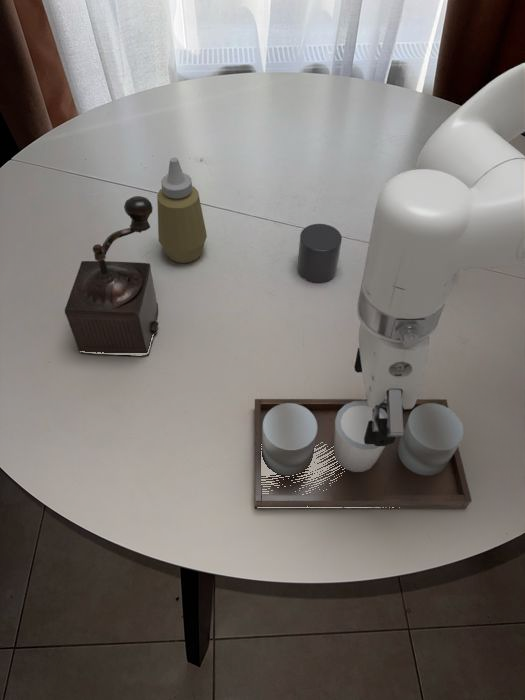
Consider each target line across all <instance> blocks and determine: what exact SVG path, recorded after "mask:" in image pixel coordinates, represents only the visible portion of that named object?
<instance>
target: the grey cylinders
mask: <svg viewBox="0 0 525 700" xmlns="http://www.w3.org/2000/svg"><path fill="white" fill-rule="evenodd" d="M342 241H343V239H342V234H341V232H340V231H339V230H338V229H337V228H336V227H334V226H332V225H329V224H325V223H312V224H310V225H307V226H306V227H304V228H302V230H301V232H300V234H299V243H298V244H299V245H298V257H297V266H296V267H297V272H298V275H299V277H301V278H302V279H304V280H306V281H307V282H309V283H313V284H324V283H327V282H329V281H331V280H333V279H334V277H336V275H337V271H338V265H339V258H340V254H341V253H340V252H341V247H342Z"/></svg>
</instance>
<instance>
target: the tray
mask: <svg viewBox="0 0 525 700" xmlns="http://www.w3.org/2000/svg"><path fill="white" fill-rule="evenodd" d="M385 400H387V398H385ZM353 401H367V399H366V398H254V508H255V507H307V506H308V507H381V508H382V507H384V508H385V507H387V508H389V507H390V508H392V507H394V508H399V507H400V508H415V509H467V508H468V507H469V505H470V504H471V503H472V496H471V493H470V489H469V485H468V481H467V480H468V479H467V477H466V472H465V469H464V464H463V460H462V457H461V453H460V449H459V446H460V444H461V442H462V441H463V438H464V433H465V431H464V425H463V422H462V420H461V419H460V417H459V415H457V413H455V411H453V410H452V409H451V408H449V404H448V400H447V399H435V398H434V399H433V398H431V399H429V398H428V399H426V398H425V399H424V398H422V399H418V398H417V401H416V403H415V405H414V407H413V408H412V409H404V408H403V406H402V413H403V436H400V437H396V438H395V441H394V443H392V444H388V445H387V446H385V447H384V449H383V451H382V453H381V454H380V456H379V458H378V459H377V461H376V463H375V464H374V465H373V466H372V467H371V468H370V469H368V470H366V471H363V472H353V471H350V470H347V469H344V467H342V466H340V467H338V468H337V469H339V468H340V469H339V470H337V469H335V470H337V471H335V470H333V471H335V472H334V473H335V474H334V473H332V474H334V475H332V474H329V473H331V472H333V471H329V470H331V469H333V468H335V467H337V466H339V465H340V464H339V463H338V462H337V463H338V464H337V463H335V464H334V465H335V466H334V465H332V466H334V467H332V466H330V467H332V468H330V467H329V468H330V469H329V470H327V471H329V472H327V471H325V472H327V473H325V472H323V473H325V474H323V475H321V476H323V477H321V476H319V477H321V478H319V477H316V478H318V479H317V480H320V479H323V478H325V477H328V476H330V475H332V476H330V477H328V478H326V479H324V480H326V481H324V480H322V481H324V482H322V481H319V482H322V483H320V484H322V485H320V484H317V485H319V486H317V485H313V484H316V483H319V482H316V483H311V482H315V481H317V480H314V481H311V482H308V483H311V484H308V483H303V482H307V481H310V480H305V479H308V478H311V477H307V478H304V479H300V480H295V479H299V478H303V477H306V476H303V477H297V476H301V475H304V474H308V473H302V472H305V471H309V470H305V469H307V468H309V467H308V466H309V465H310V463H311V461H312V458H313V454H314V453H316V452H318V451H320V450H322V449H324V448H325V447H326V450H328V449H330V448H331V447H333V446H334V435H335V419H336V417H337V414H338V411H339V410H340V409H341V408H342V407H343V406H344V405H346V404H348V403H351V402H353ZM382 409H383V410H385V412H386V413H387V408H382ZM321 442H323V443H321ZM320 443H321V444H320ZM261 444H262V445H261ZM318 444H319V445H318ZM324 444H327V445H325V446H324V447H322V448H321V449H319V450H317V451H315V452H314V448H316V449H317V448H319V447H321V446H323V445H324ZM316 445H318V446H316ZM261 446H262V447H261ZM315 446H316V447H315ZM327 446H328V447H327ZM261 448H262V450H261ZM326 450H325V451H326ZM332 450H334V447H333V448H331V449H330V450H328V451H327V452H325V453H324V454H322V455H320V456H318V457H317V458H319V457H321V456H323V455H325V454H327V453H329V452H330V451H332ZM261 451H262V457H263V460H264V462H265V464H266V465H267V467H268V468H269V469H271V470H272V471H273V472H275V473H277V474H276V475H281V476H279V477H284V478H279V477H268V478H261V477H266V476H261ZM323 452H324V451H323ZM323 452H321V453H323ZM321 453H320V454H321ZM333 453H334V451H333V452H332V453H331V454H333ZM331 454H329V455H331ZM318 455H319V454H318ZM329 455H328V456H329ZM316 456H317V455H316ZM333 456H335V455H334V454H333V455H331V456H329V457H328V458H326V457H327V456H326V457H324V458H326V459H324V458H322V459H324V460H323V461H321V462H319V463H322V462H324V461H326V460H328V459H330V458H332V457H333ZM317 458H316V459H317ZM322 459H320V460H322ZM334 459H335V458H333V459H331V460H330V461H332V460H334ZM330 461H328V462H330ZM336 461H337V460H334V461H332V462H330V463H328V462H327V463H328V464H327V465H325V466H323V467H326V466H328V465H330V464H332V463H334V462H336ZM314 463H315V462H314ZM319 463H317V464H319ZM325 464H326V463H325ZM336 464H337V465H336ZM323 465H324V464H323ZM310 467H311V466H310ZM323 467H321V468H323ZM341 467H342V468H341ZM321 468H319V469H321ZM319 469H317V470H319ZM327 469H328V468H327ZM342 469H344V470H342ZM315 471H316V470H315ZM322 471H323V470H322ZM344 471H345V472H344ZM312 472H313V471H312ZM320 472H321V471H320ZM342 472H343V473H342ZM299 473H301V474H299ZM310 473H311V472H310ZM317 473H318V472H317ZM340 473H342V474H340ZM296 474H298V475H296ZM314 474H315V473H314ZM321 474H322V473H321ZM326 474H329V475H326ZM338 474H339V475H338ZM276 475H270V476H276ZM292 475H294V476H292ZM310 475H313V473H312V474H310ZM310 475H307V476H310ZM319 475H320V474H319ZM324 475H325V476H324ZM336 475H337V476H336ZM341 475H342V476H341ZM285 476H290V477H285ZM334 476H335V477H334ZM339 476H340V477H339ZM293 477H294V478H293ZM337 477H338V478H337ZM272 478H278V479H273V480H266V481H275V482H272V483H278V484H274V485H280V486H274V485H261V484H271V483H261V482H266V481H261V479H272ZM288 478H289V479H288ZM316 478H314V479H316ZM329 478H330V479H329ZM335 478H337V479H335ZM283 479H284V480H283ZM327 479H328V480H327ZM333 479H335V480H333ZM276 480H279V481H276ZM291 480H293V481H291ZM301 480H303V481H301ZM311 480H313V479H311ZM330 480H333V481H330ZM336 480H337V481H336ZM297 481H300V482H297ZM334 481H335V482H334ZM279 482H280V483H279ZM293 482H296V483H293ZM332 482H333V483H332ZM323 483H324V484H323ZM329 483H331V484H329ZM282 484H283V485H282ZM305 484H308V485H305ZM290 485H291V486H290ZM301 485H305V486H301ZM309 485H310V486H309ZM311 485H313V486H311ZM330 485H331V486H330ZM263 486H271V487H263ZM284 486H286V487H284ZM306 486H307V487H306ZM314 486H317V487H314ZM277 487H279V488H277ZM302 487H304V488H302ZM311 487H314V488H311ZM318 487H319V488H318ZM268 488H270V489H268ZM299 488H301V489H299ZM309 488H311V489H309ZM315 488H316V489H315ZM262 489H267V490H262ZM312 489H314V490H312ZM319 489H320V490H319ZM326 489H327V490H326ZM271 490H273V491H271ZM299 490H300V491H299ZM308 490H311V491H308ZM323 490H324V491H323ZM262 491H269V492H262ZM295 491H296V492H295ZM305 491H308V492H305ZM309 492H311V493H309ZM262 493H269V494H262ZM306 493H308V494H306ZM302 494H304V495H302Z"/></svg>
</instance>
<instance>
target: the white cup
mask: <svg viewBox="0 0 525 700" xmlns="http://www.w3.org/2000/svg"><path fill="white" fill-rule="evenodd" d="M379 418H388V417H387V413H386V412H385V410H383V409H382V408H380V415H379ZM370 420H372V408H371V407H370V406H369V405H368V403H367V401H353V402H351V403H348V404H346V405H344V406H343V407H342V408H341V409H340V410H339V411H338V414H337V417H336V419H335V435H334V455H335V458H336V460H337V461H338V463H339V464H340V465H341V466H342V467H344V468H345V469H347V470H350V471H353V472H363V471H366V470H368V469H370V468H371V467H372V466H373V465H374V464H375V463H376V461H377V459H378V458H379V456H380V454H381V453H382V451H383V449H384V447H385V446H375V445H374V444H365V442H364V437H365V433H366V429H367V426H368V422H369V421H370Z"/></svg>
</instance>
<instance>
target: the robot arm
mask: <svg viewBox="0 0 525 700" xmlns="http://www.w3.org/2000/svg"><path fill="white" fill-rule="evenodd" d="M441 124H442V125H441ZM441 124H440V125H441V126H440V125H439V126H440V127H439V126H438V127H439V128H438V127H437V128H438V129H437V128H436V129H437V130H436V129H435V131H434V132H433V134H431V136H430V137H429V138H428V140H427V141H426V143H425V144H424V145H423V147H422V149H421V151H420V153H419V155H418V158H417V160H416V164H415V165H416V166H415V169H410V170H406V171H403V172H400V173H398V174H396V175H394V176H392V177H391V178H390V179H389V180H388V181H387V182H386V183H385V184H384V185H383V187H382V188H381V190H380V192H379V194H378V197H377V200H376V205H375V209H374V213H373V220H372V225H371V231H370V235H369V236H370V237H369V241H368V246H367V252H366V259H365V263H364V269H363V275H362V279H361V285H360V289H359V297H358V301H357V306H356V313H357V317H358V320H359V323H360V324H359V329H358V347H357V352H356V356H355V362H354V367H353V368H354V371H355V372H356V373H362V379H363V387H364V392H365V399H367V403H368V405H369V406H370V407H371V408H372V420H370V421H369V422H368V426H367V429H366V433H365V437H364V442H365V444H374V445H375V446H387V445H388V444H392V443H394V441H395V438H396V437H400V436H403V413H402V406H403V408H404V409H412V408H413V407H414V405H415V403H416V401H417V399H418V397H419V394H420V391H421V388H422V384H423V380H424V377H425V371H426V368H427V363H428V357H429V349H430V336H431V335H432V334H433V333H434V331H436V328H438V324H439V321H440V320H441V319H440V318H441V316H442V312H443V310H444V307H445V304H446V301H447V299H448V296H449V293H450V291H451V288H452V285H453V282H454V280H455V277H456V274H457V273H458V272H460V271H470V270H482V269H483V270H484V269H499V268H510V267H517V266H522V265H525V155H524V154H523V153H522V152H520V151H519V149H517V148H515V147H514V146H513V145H512V144H510V142H511V141H512V140H514V139H516V138H517V137H518V136H520V135H521V134H523V133H525V62H523V63H520V64H518V65H516V66H514V67H513V68H510V69H508V70H506V71H504V72H503V73H501V74H500V75H498V76H497V77H495V78H494V79H492V80H491V81H489V82H488V83H487V84H486V85H485V86H483V87H482V88H481V89H480V90H478V91H477V92H476V93H475V94H474V95H472V96H471V97H470V98H469V99H468V100H466V101H465V103H463V104H462V105H461V106H459V108H458V109H457V110H455V111H454V112H453V113H452V114H451V115H450V116H449V117H448V118H446V120H445V121H443V123H441ZM385 399H387V400H385ZM380 408H387V417H388V418H379V415H380Z"/></svg>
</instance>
